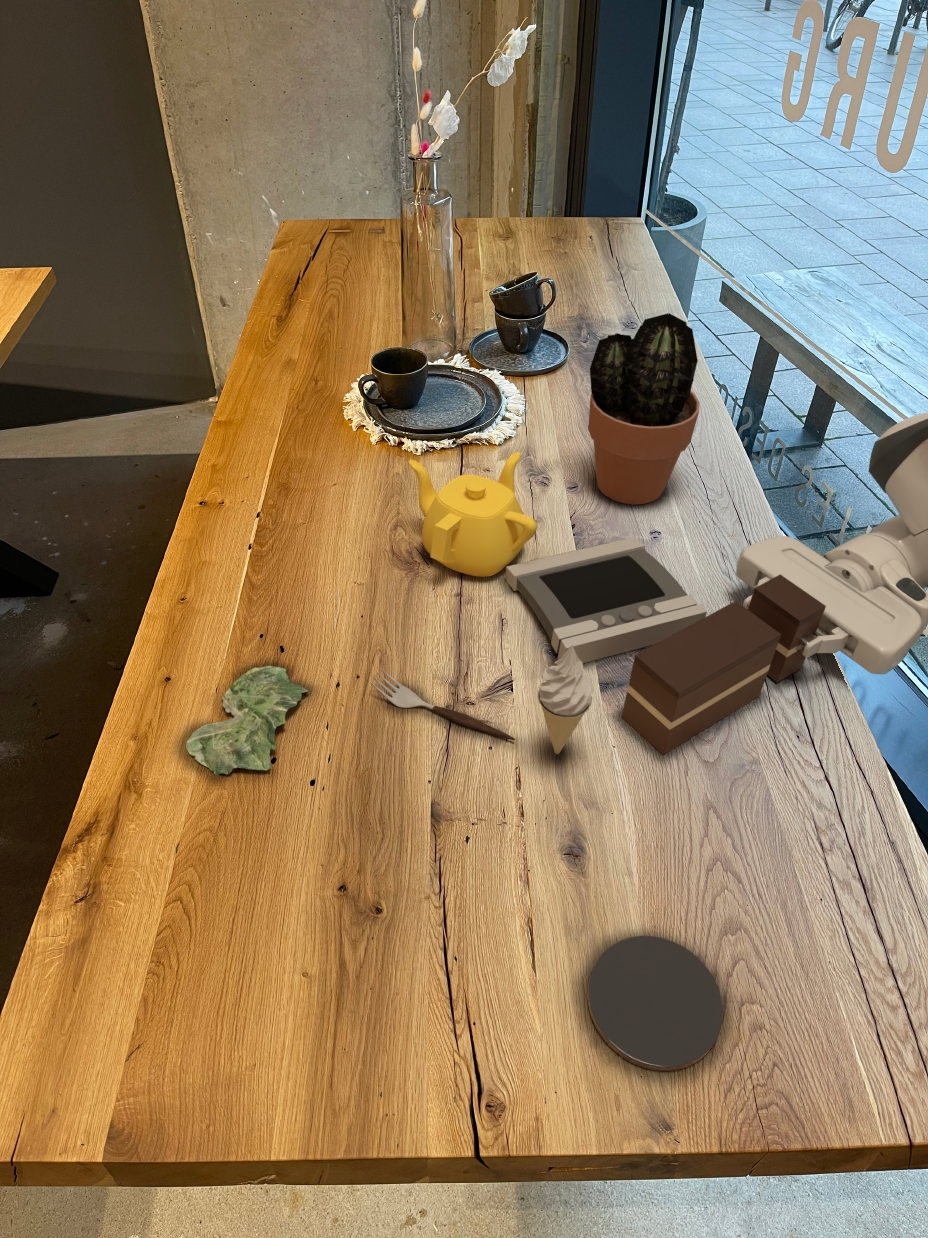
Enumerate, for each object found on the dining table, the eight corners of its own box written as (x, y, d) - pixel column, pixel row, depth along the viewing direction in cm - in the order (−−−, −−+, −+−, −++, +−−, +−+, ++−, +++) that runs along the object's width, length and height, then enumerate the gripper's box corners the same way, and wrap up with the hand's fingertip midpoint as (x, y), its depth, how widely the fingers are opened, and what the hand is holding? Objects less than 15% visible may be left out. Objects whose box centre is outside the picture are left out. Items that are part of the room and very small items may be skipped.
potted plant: (656, 452, 130) (689, 279, 113) (698, 508, 120) (741, 327, 103) (565, 465, 127) (585, 289, 110) (601, 522, 117) (629, 339, 100)
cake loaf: (717, 662, 99) (735, 600, 93) (759, 696, 96) (781, 634, 90) (621, 716, 93) (634, 654, 87) (662, 755, 90) (679, 693, 84)
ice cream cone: (527, 767, 88) (538, 658, 78) (536, 728, 92) (549, 619, 82) (578, 777, 88) (597, 669, 77) (586, 738, 91) (605, 629, 81)
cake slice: (759, 635, 102) (780, 573, 96) (802, 667, 99) (826, 606, 92) (734, 649, 100) (754, 587, 94) (777, 682, 97) (800, 621, 91)
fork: (509, 752, 90) (510, 739, 88) (369, 696, 95) (368, 682, 93) (520, 734, 91) (521, 721, 90) (382, 679, 96) (381, 666, 95)
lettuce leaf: (264, 786, 86) (262, 776, 85) (172, 766, 87) (169, 756, 86) (320, 674, 97) (318, 664, 96) (237, 658, 98) (234, 647, 97)
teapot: (515, 513, 118) (519, 447, 112) (539, 579, 109) (546, 511, 102) (409, 522, 117) (408, 456, 110) (424, 591, 107) (424, 522, 100)
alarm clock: (565, 648, 96) (506, 547, 106) (560, 676, 99) (503, 575, 109) (707, 611, 100) (637, 518, 110) (697, 639, 104) (630, 546, 114)
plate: (702, 937, 76) (704, 933, 75) (736, 1068, 68) (739, 1064, 68) (578, 942, 75) (579, 938, 75) (598, 1075, 68) (599, 1070, 67)
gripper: (792, 511, 106) (708, 553, 100) (949, 610, 94) (864, 665, 88) (778, 553, 110) (696, 596, 104) (926, 654, 98) (844, 708, 92)
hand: (774, 628), depth 96 cm, fingers closed on cake slice, 6 cm apart
